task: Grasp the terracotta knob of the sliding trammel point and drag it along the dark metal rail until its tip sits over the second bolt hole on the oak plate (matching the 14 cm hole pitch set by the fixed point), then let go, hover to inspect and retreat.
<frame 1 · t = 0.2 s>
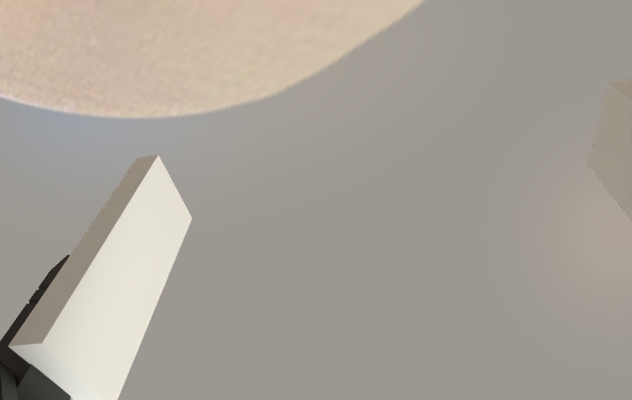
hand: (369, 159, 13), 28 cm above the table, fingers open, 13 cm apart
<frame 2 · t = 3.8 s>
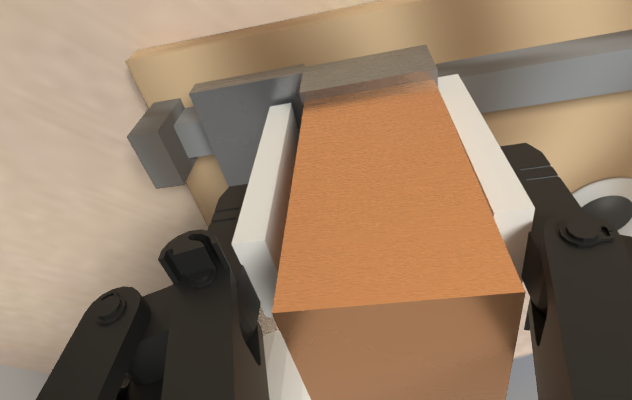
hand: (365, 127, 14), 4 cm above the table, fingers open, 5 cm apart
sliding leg: (389, 258, 13), point 7 cm above the table, slide at 0.0 cm, touching fixed leg
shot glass: (294, 348, 31), on the table
bolt plate: (442, 151, 19), on the table
fixed leg: (274, 97, 18), resting on bolt plate
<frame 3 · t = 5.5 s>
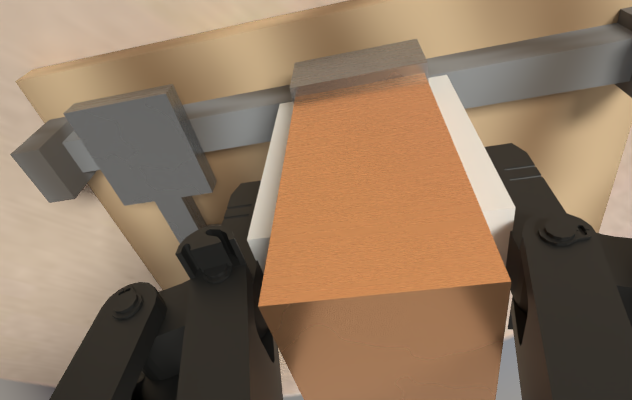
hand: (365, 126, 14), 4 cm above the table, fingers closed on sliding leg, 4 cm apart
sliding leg: (382, 253, 13), point 7 cm above the table, slide at 4.5 cm, touching gripper
bolt plate: (340, 161, 20), on the table
fixed leg: (171, 112, 18), resting on bolt plate
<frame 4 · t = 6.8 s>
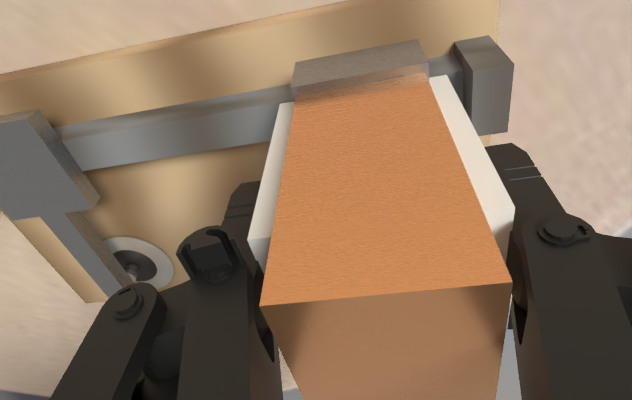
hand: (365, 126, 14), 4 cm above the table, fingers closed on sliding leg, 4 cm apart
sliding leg: (382, 253, 13), point 7 cm above the table, slide at 10.0 cm, touching gripper
bolt plate: (232, 177, 21), on the table
fixed leg: (63, 130, 19), resting on bolt plate
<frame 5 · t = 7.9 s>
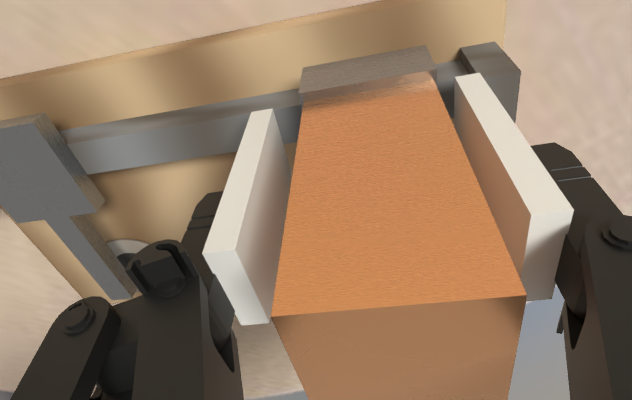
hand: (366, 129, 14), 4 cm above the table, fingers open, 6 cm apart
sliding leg: (389, 259, 13), point 7 cm above the table, slide at 10.0 cm
bolt plate: (236, 181, 21), on the table
fixed leg: (68, 134, 19), resting on bolt plate
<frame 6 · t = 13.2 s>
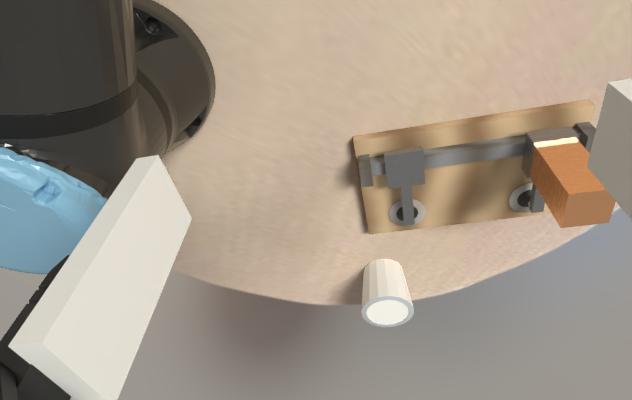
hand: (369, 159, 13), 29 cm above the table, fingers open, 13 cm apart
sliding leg: (556, 196, 40), point 7 cm above the table, slide at 10.0 cm
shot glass: (383, 270, 59), on the table
bolt plate: (464, 172, 47), on the table
fixed leg: (401, 152, 46), resting on bolt plate
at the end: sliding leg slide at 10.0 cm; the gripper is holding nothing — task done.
